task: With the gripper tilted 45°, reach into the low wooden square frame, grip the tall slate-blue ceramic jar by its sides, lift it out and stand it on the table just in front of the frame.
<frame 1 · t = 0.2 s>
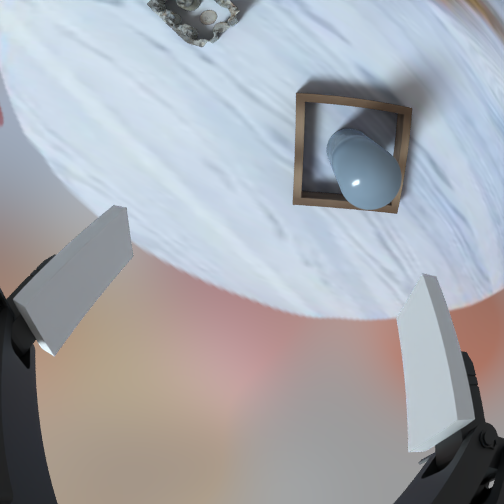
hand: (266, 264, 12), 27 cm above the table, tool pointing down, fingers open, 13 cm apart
slate jar: (358, 162, 29), in the wooden square frame
egg carton: (199, 12, 27), on the table
wooden square frame: (349, 151, 34), on the table
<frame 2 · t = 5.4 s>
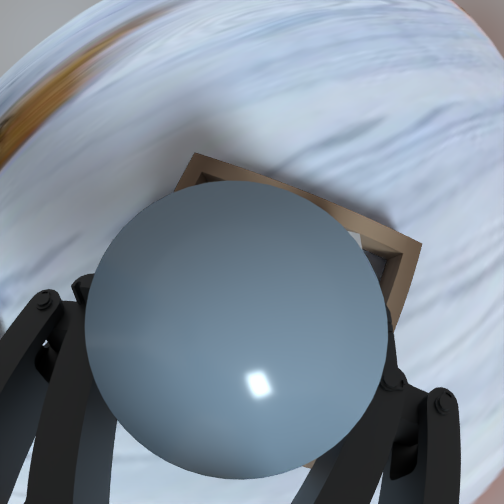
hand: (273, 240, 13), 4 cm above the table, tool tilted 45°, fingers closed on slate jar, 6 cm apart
slate jar: (251, 321, 11), in the wooden square frame, touching gripper
wooden square frame: (259, 315, 17), on the table
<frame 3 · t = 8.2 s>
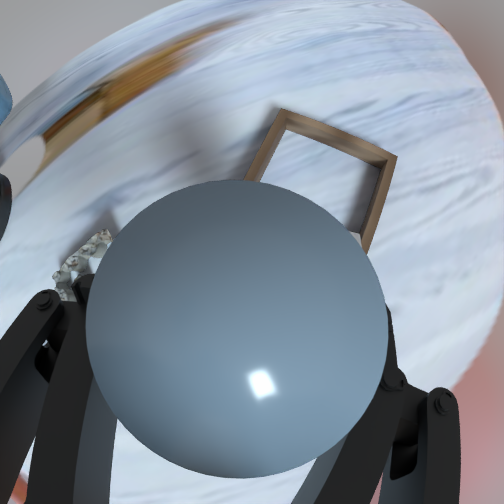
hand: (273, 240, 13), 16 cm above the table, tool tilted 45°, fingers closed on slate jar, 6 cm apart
slate jar: (251, 320, 11), point 18 cm above the table, touching gripper
egg carton: (102, 281, 31), on the table
wooden square frame: (316, 190, 30), on the table
when the fingers open (5 cm above the table, at t = 11.1 s): slate jar stays where it is, on the table.
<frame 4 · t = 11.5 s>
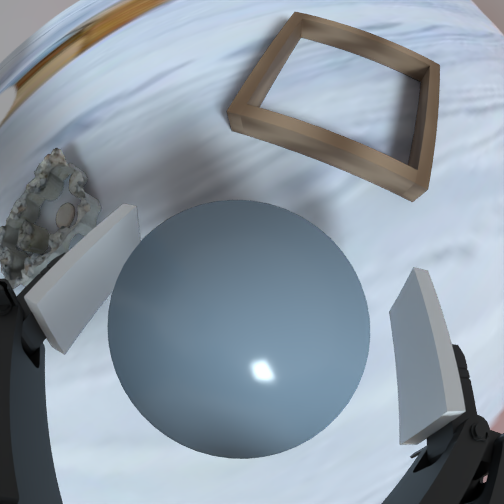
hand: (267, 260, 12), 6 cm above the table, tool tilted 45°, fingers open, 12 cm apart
slate jar: (252, 320, 12), on the table
egg carton: (56, 231, 21), on the table
wooden square frame: (348, 95, 20), on the table
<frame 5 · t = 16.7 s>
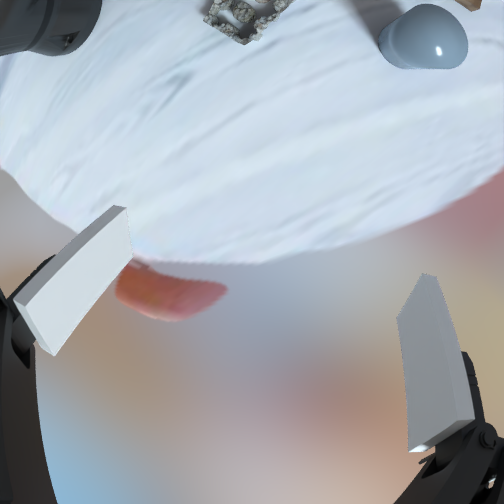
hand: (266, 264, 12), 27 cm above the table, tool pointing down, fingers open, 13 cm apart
slate jar: (417, 41, 19), on the table
egg carton: (257, 6, 25), on the table
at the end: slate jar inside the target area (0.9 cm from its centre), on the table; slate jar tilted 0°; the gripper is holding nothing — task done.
